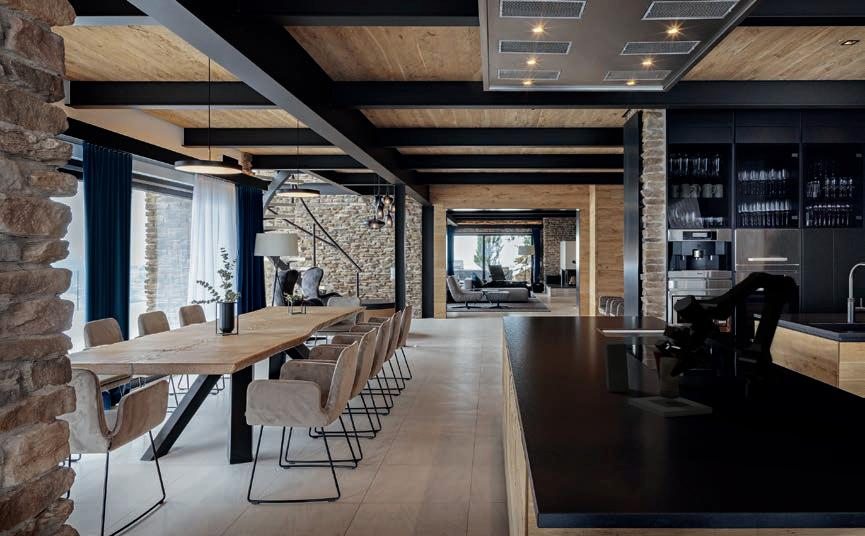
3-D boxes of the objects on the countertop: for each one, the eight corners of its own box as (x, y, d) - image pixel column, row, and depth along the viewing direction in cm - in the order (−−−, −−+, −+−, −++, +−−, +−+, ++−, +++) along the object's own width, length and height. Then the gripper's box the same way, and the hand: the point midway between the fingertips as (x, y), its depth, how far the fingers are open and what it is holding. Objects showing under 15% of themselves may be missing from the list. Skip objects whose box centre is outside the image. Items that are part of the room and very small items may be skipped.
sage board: (673, 400, 180) (673, 394, 179) (712, 413, 164) (712, 406, 164) (628, 403, 175) (628, 398, 175) (663, 417, 160) (663, 411, 160)
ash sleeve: (682, 396, 169) (681, 358, 169) (673, 399, 166) (673, 360, 166) (665, 393, 173) (665, 356, 173) (656, 396, 170) (656, 358, 170)
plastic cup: (685, 382, 206) (685, 348, 206) (686, 388, 196) (686, 352, 196) (652, 380, 210) (652, 346, 210) (651, 386, 200) (651, 351, 200)
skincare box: (629, 393, 189) (629, 344, 189) (606, 392, 191) (606, 343, 191) (626, 387, 198) (626, 340, 198) (604, 386, 199) (604, 340, 199)
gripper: (659, 313, 179) (628, 350, 176) (703, 318, 161) (670, 360, 158) (681, 337, 182) (651, 375, 179) (727, 345, 164) (694, 387, 161)
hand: (665, 374), depth 169 cm, fingers closed on ash sleeve, 5 cm apart
